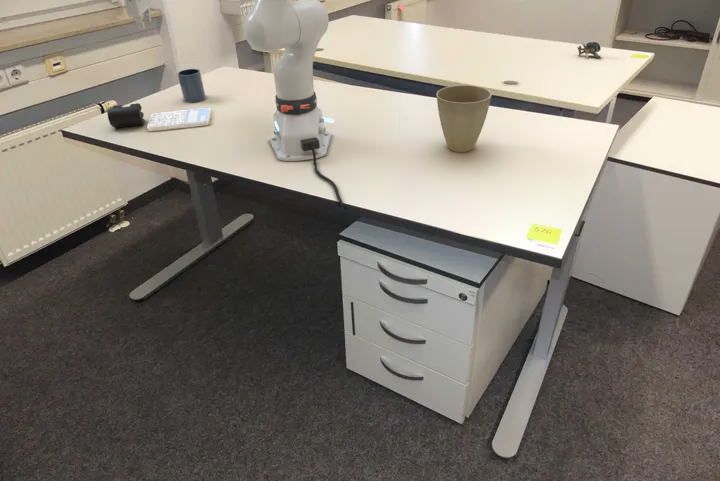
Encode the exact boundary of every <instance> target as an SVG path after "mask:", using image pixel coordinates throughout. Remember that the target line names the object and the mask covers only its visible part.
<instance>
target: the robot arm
mask: <svg viewBox="0 0 720 481" xmlns="http://www.w3.org/2000/svg"><path fill="white" fill-rule="evenodd" d="M123 1H124V6H125V10H126V14H127V16H128V17H129V18H133V20H134V21H135V24H136V25H137V29H138V30H139V31H144V30H145V29H146V25H145V24H151V22H152V18H151V11H150V7H151V6H152V5H153V0H123ZM329 19H330V18H329V14H328V11H327V9H326V7H325V6H324V4H323V3H322V2H321V1H319V0H292V1H289V0H254V2H253V5H252V7H251V9H250V11H249V12H248V14H246V17H245V19H244V22H243V33H244V37H245V40H246V41H247V43H248V45H249V46H250V47H251V48H252V49H253V50H255V51H257V52H275V51H279V50H283V49H284V50H283V52H282V53H283V54H282V56H281V57H280V58H279V60H278V61H277V62H276V63H275V65H274V68H273V79H274V87H275V93H276V94H275V96H274V97H275V105H276V106H275V107H276V111H275V112H274V113H273V114H272V116H273V117H272V118H273V125H274V130H273V134H274V135H272V136H271V137H269V143H270V145H271V147H272V149H273V151H274V153H275V156H276V158H277V159H278V160H279V161H284V162H299V161H308V160H312V161H313V166H314V171H315V173H316V174H317V176H319V177H320V178H322V179H323V180H325V181H326V182H328V183H329V184H330V185H331V186H332V187H333V189H334V192H335V195H336V198H337V200H338V202H339V206H340V211H341V213H344V212H346V211H345V205H344V202H343V200H342V198H341V196H340V192H339V189H338V187H337V186H336V184H335V182H334V181H333V180H331V179H330V178H328V176H325V175H323V174H322V173H321V172H320V171H319V169H318V167H317V166H318V165H317V164H318V163H317V159H319V158H323V157H325V156H326V155H327V152H328V149H329V145H330V141H331V138H332V135H331V132H330V131H326V126H325V125H324V123H325V122H326V123H331V124H333V123H334V119H333V118H328V117H324V116H323V109H321V108H319V107H318V106H317V105H318V103H317V100H318V99H317V95H316V92H315V88H314V87H315V86H314V71H313V69H314V67H313V66H314V60H315V55H316V52H317V49H318V46H319V43H320V42H321V39H322V38H323V36H324V35H325V34H326V32H327V31H328V28H329V23H330V22H329ZM143 20H144V21H143ZM354 307H355V306H354V301H350V315H351V327H352V328H351V329H352V336H356V323H355V308H354Z"/></svg>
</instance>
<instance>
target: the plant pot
mask: <svg viewBox="0 0 720 481" xmlns="http://www.w3.org/2000/svg"><path fill="white" fill-rule="evenodd" d="M492 94H493V93H492V91H491V90H489V89H487V88H486V87H482V86H477V85H471V84H458V85H450V86H446V87H442V88H441V89H439V90H437V92H436V94H435V95H436V102H437V110H438V116H439V122H440V126H441V130H442V134H443V137H444V141H445V143H446V147H447V148H448V149H449V150H450V151H452V152H456V153H467V152H471V151H472V150H473V149H474V148H475V146H476V143H477V142H478V139H479V137H480V135H481V133H482V130H483V128H484V125H485V122H486V118H487V116H488V111H489V108H490V104H491V99H492Z"/></svg>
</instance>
